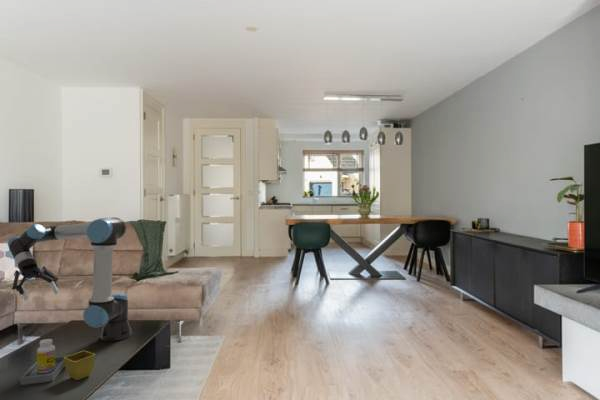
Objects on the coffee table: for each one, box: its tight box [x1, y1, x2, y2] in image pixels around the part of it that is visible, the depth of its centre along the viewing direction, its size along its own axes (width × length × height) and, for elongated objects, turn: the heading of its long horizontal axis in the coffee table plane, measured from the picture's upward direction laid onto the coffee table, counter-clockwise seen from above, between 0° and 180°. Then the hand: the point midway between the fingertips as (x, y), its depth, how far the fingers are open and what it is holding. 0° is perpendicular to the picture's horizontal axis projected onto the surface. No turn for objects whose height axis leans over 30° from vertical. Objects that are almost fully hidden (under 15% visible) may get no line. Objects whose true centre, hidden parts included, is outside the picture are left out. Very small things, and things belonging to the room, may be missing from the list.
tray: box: [19, 355, 68, 386], centre depth 169 cm, size 12×20×3 cm, turn 15°
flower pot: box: [64, 350, 96, 381], centre depth 164 cm, size 9×9×9 cm
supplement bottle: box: [36, 338, 56, 373], centre depth 169 cm, size 7×7×13 cm
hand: (42, 295), depth 192 cm, fingers open, 13 cm apart
